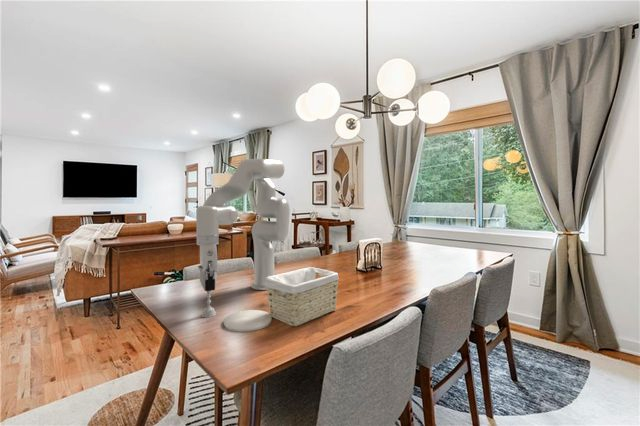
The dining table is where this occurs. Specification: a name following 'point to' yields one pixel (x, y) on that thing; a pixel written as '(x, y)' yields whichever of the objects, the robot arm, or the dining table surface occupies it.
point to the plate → (247, 320)
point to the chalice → (209, 310)
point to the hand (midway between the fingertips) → (208, 286)
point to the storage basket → (301, 295)
